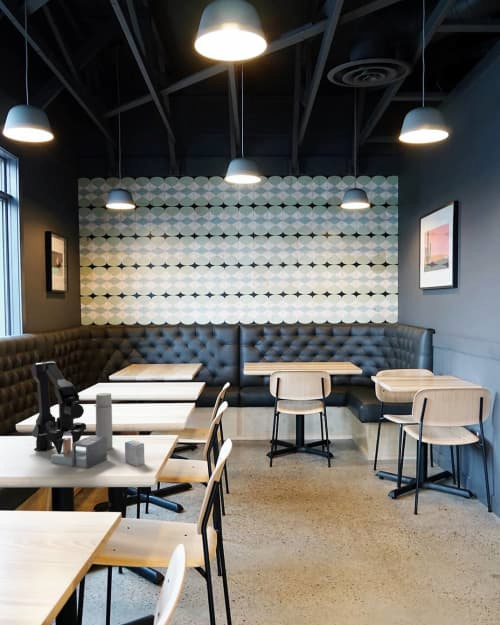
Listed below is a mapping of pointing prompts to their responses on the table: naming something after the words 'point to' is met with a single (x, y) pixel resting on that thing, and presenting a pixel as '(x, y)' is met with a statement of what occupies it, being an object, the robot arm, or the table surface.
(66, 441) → the peg
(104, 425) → the water bottle
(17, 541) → the table surface
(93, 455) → the grey open-top bin
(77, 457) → the socket plate
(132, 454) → the medicine box
